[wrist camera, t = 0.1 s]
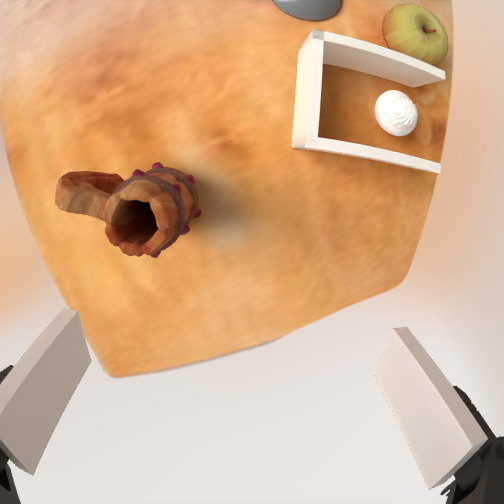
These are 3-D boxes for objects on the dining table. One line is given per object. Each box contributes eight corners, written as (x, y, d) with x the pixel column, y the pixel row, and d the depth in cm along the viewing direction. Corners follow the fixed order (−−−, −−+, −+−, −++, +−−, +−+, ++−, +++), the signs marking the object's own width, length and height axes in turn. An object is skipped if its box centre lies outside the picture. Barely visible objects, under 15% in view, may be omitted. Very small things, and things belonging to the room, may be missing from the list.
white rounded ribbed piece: (360, 126, 34) (384, 123, 27) (369, 87, 32) (393, 77, 25) (398, 143, 35) (425, 144, 28) (406, 104, 33) (434, 99, 26)
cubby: (298, 51, 30) (312, 29, 23) (412, 80, 31) (444, 71, 24) (291, 147, 35) (304, 147, 27) (407, 167, 36) (440, 173, 28)
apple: (434, 74, 31) (467, 65, 23) (383, 70, 31) (412, 56, 23) (418, 19, 27) (446, 4, 20) (365, 12, 28) (389, -10, 20)
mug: (215, 180, 36) (198, 201, 22) (192, 237, 38) (165, 289, 24) (115, 142, 33) (50, 144, 19) (98, 198, 36) (33, 228, 22)
